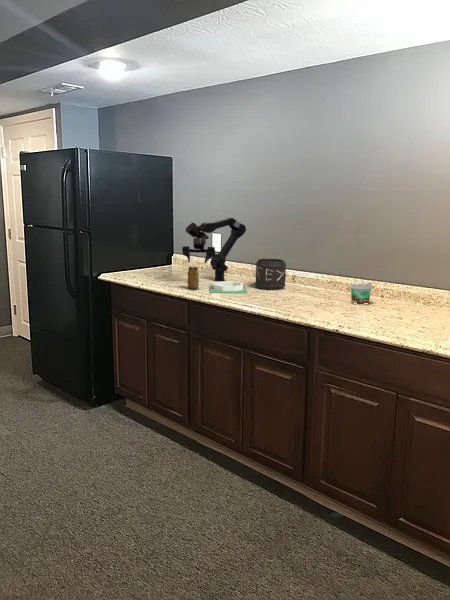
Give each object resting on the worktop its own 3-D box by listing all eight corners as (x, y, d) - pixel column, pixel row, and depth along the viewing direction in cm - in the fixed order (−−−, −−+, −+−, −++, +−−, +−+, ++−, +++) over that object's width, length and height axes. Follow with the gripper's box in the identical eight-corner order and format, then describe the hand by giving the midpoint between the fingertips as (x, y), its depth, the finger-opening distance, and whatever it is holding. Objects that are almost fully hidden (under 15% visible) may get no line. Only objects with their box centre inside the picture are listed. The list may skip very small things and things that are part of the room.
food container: (357, 306, 250) (358, 285, 248) (348, 303, 255) (350, 283, 253) (376, 304, 255) (378, 284, 253) (368, 301, 261) (369, 282, 259)
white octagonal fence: (213, 285, 295) (213, 281, 295) (241, 286, 296) (241, 281, 295) (213, 290, 280) (213, 286, 279) (243, 291, 280) (243, 286, 280)
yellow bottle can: (194, 287, 294) (194, 266, 291) (203, 289, 287) (203, 267, 285) (184, 288, 289) (184, 266, 287) (192, 290, 283) (193, 268, 280)
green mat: (209, 285, 298) (209, 284, 298) (244, 286, 299) (244, 285, 299) (210, 292, 277) (210, 291, 277) (247, 293, 278) (247, 292, 277)
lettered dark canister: (249, 289, 290) (250, 261, 287) (259, 284, 306) (260, 257, 303) (280, 291, 283) (281, 263, 280) (289, 286, 300) (290, 259, 296)
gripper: (182, 232, 296) (178, 253, 288) (214, 232, 294) (211, 254, 285) (185, 244, 305) (181, 265, 297) (216, 245, 303) (213, 266, 295)
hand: (197, 262), depth 293 cm, fingers open, 9 cm apart
